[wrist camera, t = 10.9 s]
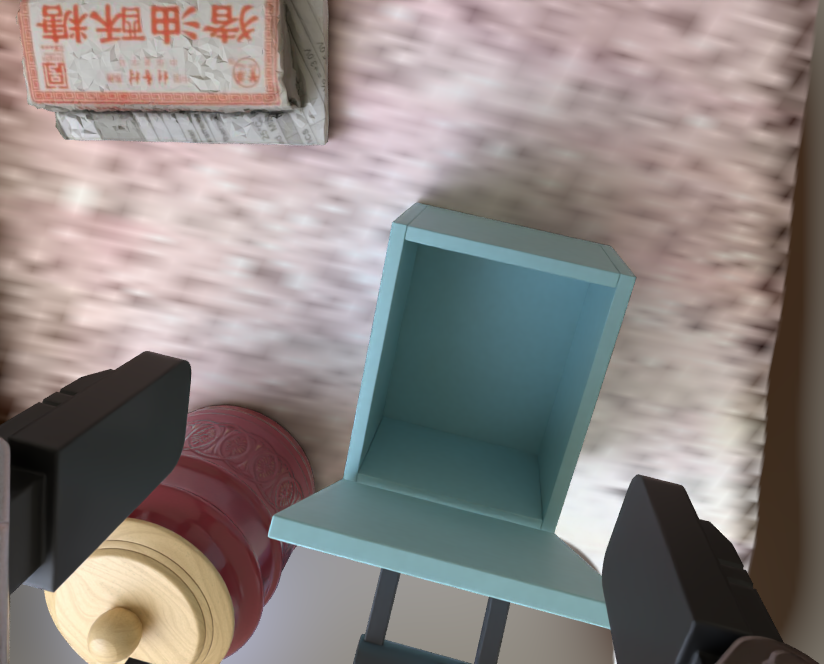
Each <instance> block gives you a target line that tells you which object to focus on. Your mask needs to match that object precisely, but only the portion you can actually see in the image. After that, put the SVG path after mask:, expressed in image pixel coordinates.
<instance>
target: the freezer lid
mask: <svg viewBox="0 0 824 664" xmlns="http://www.w3.org/2000/svg"><path fill="white" fill-rule="evenodd" d="M268 537H269V538H272V539H276V540H279V541H283V542H287V543H290V544H294V545H298V546H302V547H306V548H310V549H313V550H317V551H321V552H324V553H328V554H332V555H335V556H339V557H343V558H347V559H350V560H354V561H358V562H362V563H365V564H369V565H373V566H376V567H380V568H381V572H380V576H379V580H378V584H377V589H376V592H375V596H374V601H373V605H372V609H371V613H370V617H369V621H368V625H367V630H366V633H365V634H362V635H361V637H360V640H359V644H358V647H357V650H356V654H355V658H354V662H353V664H471V663H468V662H464V661H460V660H457V659H453V658H450V657H446V656H442V655H439V654H435V653H432V652H428V651H424V650H421V649H417V648H413V647H410V646H406V645H402V644H399V643H395V642H392V641H388V640H385V635H386V631H387V627H388V623H389V619H390V614H391V610H392V606H393V602H394V598H395V594H396V589H397V585H398V581H399V577H400V573H403V574H406V575H410V576H414V577H418V578H422V579H425V580H429V581H433V582H436V583H440V584H444V585H447V586H452V587H455V588H459V589H463V590H466V591H470V592H474V593H477V594H481V595H485V596H489V599H488V604H487V608H486V613H485V617H484V622H483V626H482V631H481V635H480V640H479V644H478V649H477V653H476V658H475V662H474V664H497V660H498V656H499V652H500V647H501V643H502V638H503V633H504V629H505V624H506V619H507V615H508V610H509V606H510V602H511V603H515V604H518V605H522V606H526V607H530V608H534V609H537V610H541V611H545V612H548V613H552V614H556V615H560V616H563V617H567V618H571V619H575V620H578V621H582V622H586V623H589V624H593V625H597V626H601V627H604V628H608V629H610V624H609V619H608V614H607V609H606V603H605V598H604V593H603V588H602V576H601V575H600V574H599V573H598V572H597V571H595V570H594V569H593V568H592V567H591V566H590V565H589V564H588V563H587V562H585V561H584V560H583V559H582V558H581V557H580V556H579V555H578V554H577V553H575V552H574V551H573V550H572V549H571V548H570V547H569V546H568V545H567V544H566V543H564V542H563V541H562V540H561V539H560V538H559V537H558V536H557V535H556V534H554V533H551V532H547V531H543V530H539V529H535V528H532V527H528V526H524V525H520V524H516V523H512V522H508V521H504V520H501V519H497V518H493V517H489V516H485V515H481V514H477V513H474V512H470V511H466V510H462V509H458V508H454V507H450V506H446V505H443V504H439V503H435V502H431V501H427V500H423V499H419V498H416V497H412V496H408V495H404V494H400V493H396V492H392V491H388V490H385V489H381V488H377V487H373V486H369V485H365V484H361V483H357V482H354V481H350V480H346V479H342V480H340V481H338V482H336V483H334V484H332V485H330V486H328V487H326V488H324V489H322V490H320V491H319V492H317V493H315V494H313V495H311V496H309V497H307V498H305V499H303V500H301V501H299V502H297V503H295V504H294V505H292V506H290V507H288V508H286V509H284V510H282V511H280V512H278V513H276V514H274V515H273V517H272V521H271V525H270V528H269V532H268Z"/></svg>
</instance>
